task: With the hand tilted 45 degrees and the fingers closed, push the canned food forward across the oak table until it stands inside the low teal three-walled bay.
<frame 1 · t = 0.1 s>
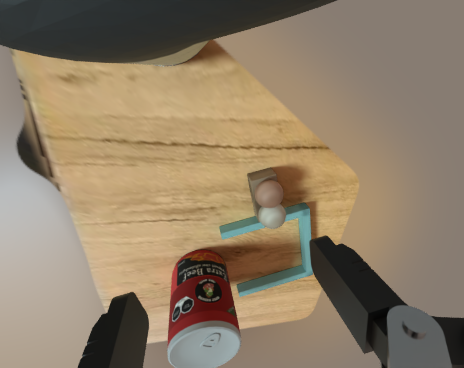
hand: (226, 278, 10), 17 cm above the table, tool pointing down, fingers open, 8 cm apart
egg holder with eggs: (262, 191, 29), on the table
canned food: (199, 268, 33), on the table
teal bay: (265, 249, 34), on the table
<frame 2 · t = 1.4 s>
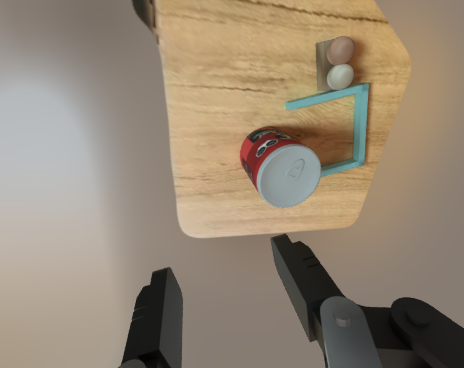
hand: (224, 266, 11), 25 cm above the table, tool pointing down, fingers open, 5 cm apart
egg holder with eggs: (326, 65, 32), on the table
canned food: (262, 150, 36), on the table
teal bay: (322, 135, 37), on the table
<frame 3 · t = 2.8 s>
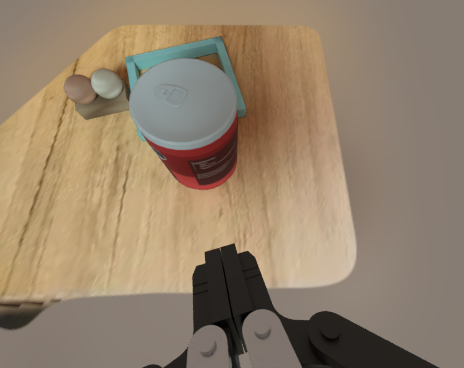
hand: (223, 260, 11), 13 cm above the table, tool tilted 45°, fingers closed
egg holder with eggs: (108, 104, 30), on the table
canned food: (203, 161, 27), on the table
teal bay: (186, 93, 30), on the table
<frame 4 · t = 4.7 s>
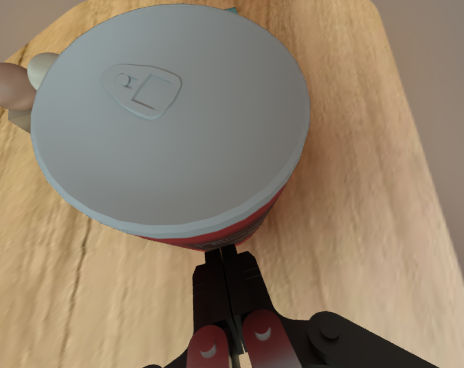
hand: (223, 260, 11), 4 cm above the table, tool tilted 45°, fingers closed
egg holder with eggs: (67, 110, 20), on the table
canned food: (212, 198, 17), on the table, touching gripper
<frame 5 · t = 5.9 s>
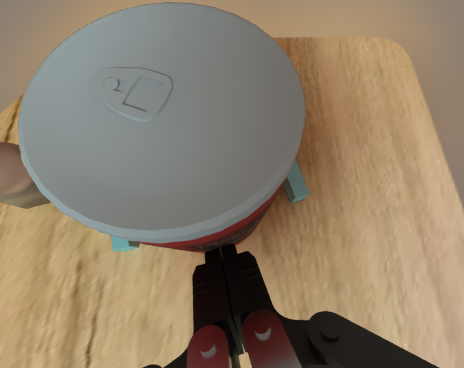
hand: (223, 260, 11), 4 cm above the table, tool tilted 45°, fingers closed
egg holder with eggs: (67, 179, 17), on the table
canned food: (208, 199, 17), on the table, touching gripper
teal bay: (198, 156, 18), on the table
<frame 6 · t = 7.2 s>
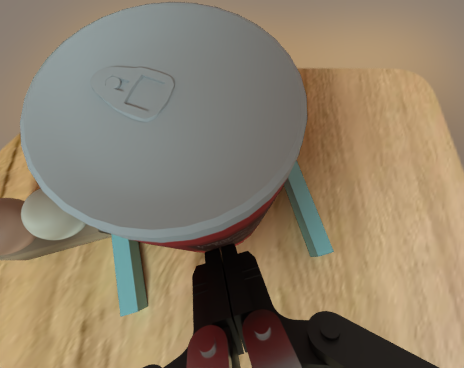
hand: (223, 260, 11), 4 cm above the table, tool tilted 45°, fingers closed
egg holder with eggs: (70, 226, 16), on the table
canned food: (209, 199, 17), on the table, touching gripper
teal bay: (210, 201, 17), on the table
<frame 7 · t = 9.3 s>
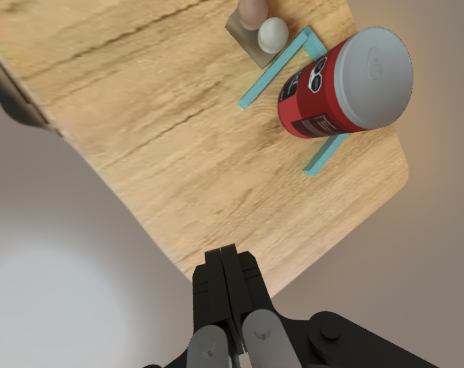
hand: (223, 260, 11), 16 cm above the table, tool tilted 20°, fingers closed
egg holder with eggs: (252, 39, 26), on the table
canned food: (301, 107, 29), on the table
teal bay: (301, 109, 29), on the table
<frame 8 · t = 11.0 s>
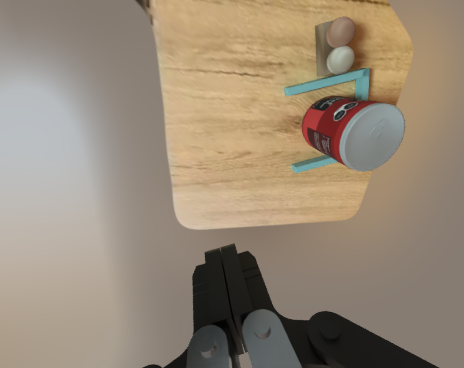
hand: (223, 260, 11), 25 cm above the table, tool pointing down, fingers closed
egg holder with eggs: (326, 49, 31), on the table
canned food: (322, 122, 36), on the table
teal bay: (321, 123, 36), on the table
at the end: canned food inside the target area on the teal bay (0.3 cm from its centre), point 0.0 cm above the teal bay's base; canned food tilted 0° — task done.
